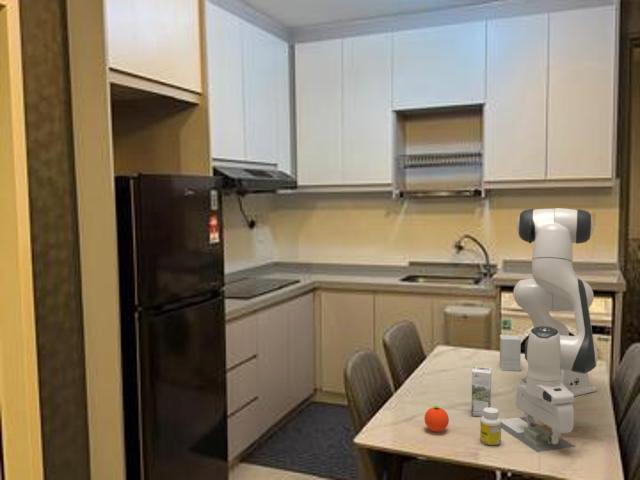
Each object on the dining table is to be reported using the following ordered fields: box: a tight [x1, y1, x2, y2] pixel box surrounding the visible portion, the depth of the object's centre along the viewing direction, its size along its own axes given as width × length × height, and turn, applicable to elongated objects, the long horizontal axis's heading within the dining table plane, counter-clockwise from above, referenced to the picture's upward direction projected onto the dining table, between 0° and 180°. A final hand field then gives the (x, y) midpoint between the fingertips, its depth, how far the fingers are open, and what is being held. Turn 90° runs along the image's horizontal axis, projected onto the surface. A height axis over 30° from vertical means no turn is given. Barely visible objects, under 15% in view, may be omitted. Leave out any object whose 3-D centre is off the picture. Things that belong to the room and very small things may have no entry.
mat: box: [500, 416, 576, 453], centre depth 163 cm, size 12×22×1 cm, turn 16°
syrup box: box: [470, 366, 493, 418], centre depth 178 cm, size 6×6×14 cm
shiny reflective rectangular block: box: [524, 424, 562, 446], centre depth 158 cm, size 8×5×3 cm, turn 106°
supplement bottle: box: [479, 407, 502, 448], centre depth 157 cm, size 5×5×10 cm
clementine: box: [424, 405, 450, 433], centre depth 167 cm, size 8×7×7 cm
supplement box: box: [499, 334, 522, 372], centre depth 227 cm, size 7×7×13 cm
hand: (542, 436), depth 158 cm, fingers open, 8 cm apart
